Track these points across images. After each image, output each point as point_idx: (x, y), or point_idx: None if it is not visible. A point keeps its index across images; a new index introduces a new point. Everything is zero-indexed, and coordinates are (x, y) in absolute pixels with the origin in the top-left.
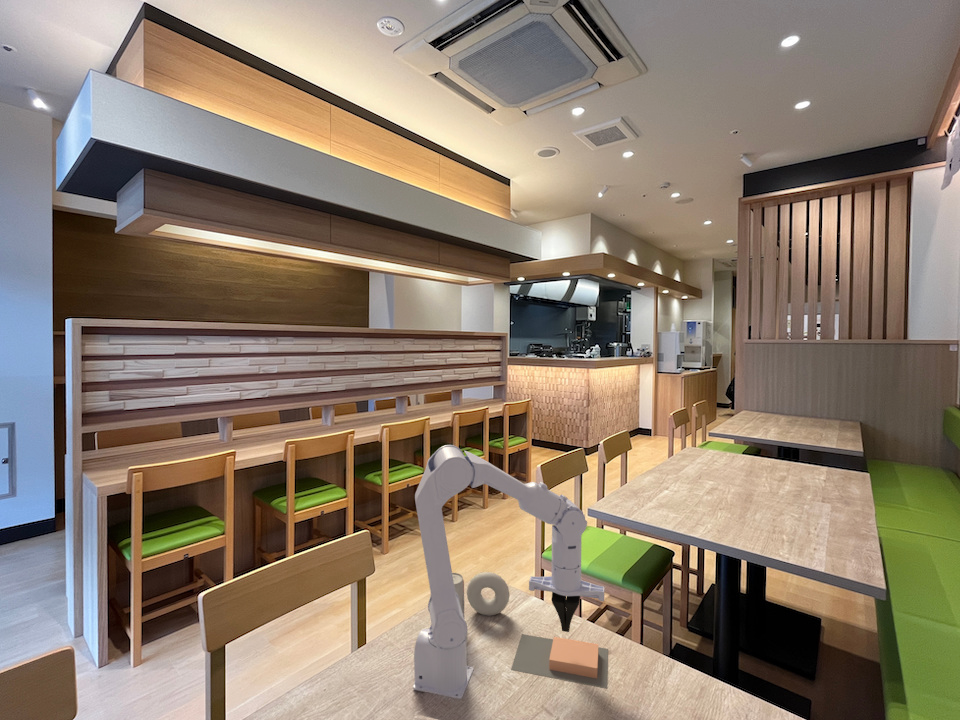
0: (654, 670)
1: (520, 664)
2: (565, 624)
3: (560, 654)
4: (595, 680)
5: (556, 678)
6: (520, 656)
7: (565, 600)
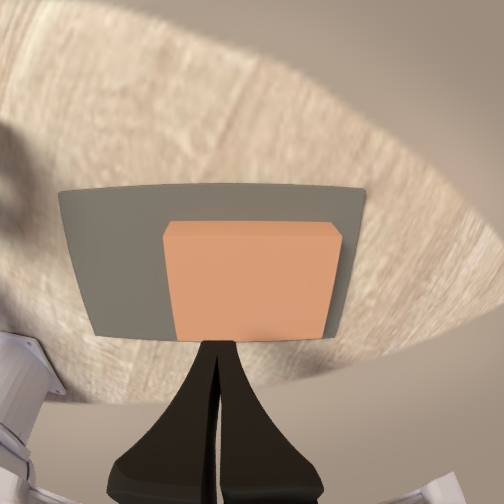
0: (454, 242)
1: (106, 319)
2: (219, 392)
3: (206, 316)
4: None
5: None
6: (93, 292)
7: (209, 466)
